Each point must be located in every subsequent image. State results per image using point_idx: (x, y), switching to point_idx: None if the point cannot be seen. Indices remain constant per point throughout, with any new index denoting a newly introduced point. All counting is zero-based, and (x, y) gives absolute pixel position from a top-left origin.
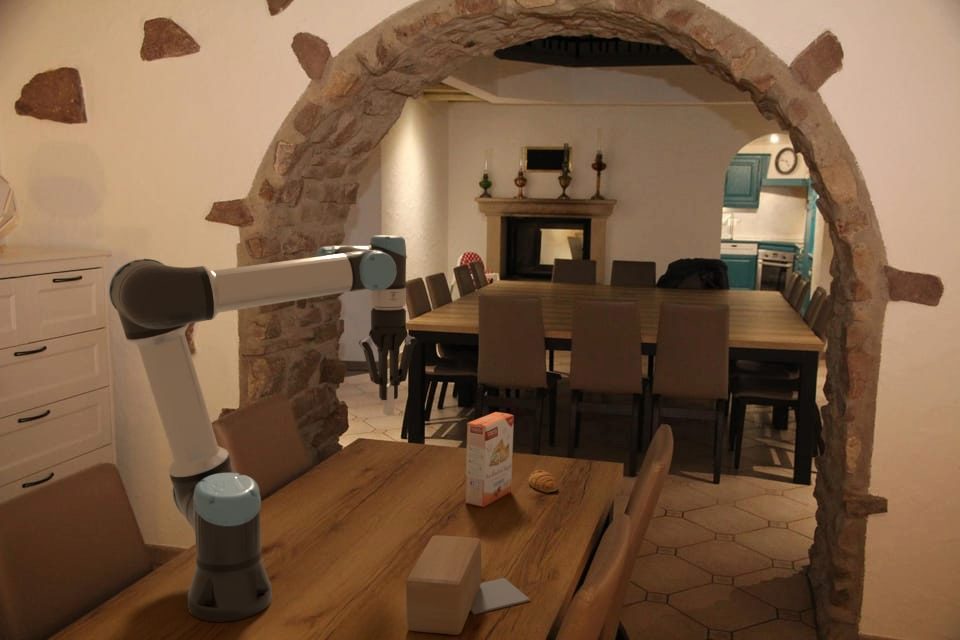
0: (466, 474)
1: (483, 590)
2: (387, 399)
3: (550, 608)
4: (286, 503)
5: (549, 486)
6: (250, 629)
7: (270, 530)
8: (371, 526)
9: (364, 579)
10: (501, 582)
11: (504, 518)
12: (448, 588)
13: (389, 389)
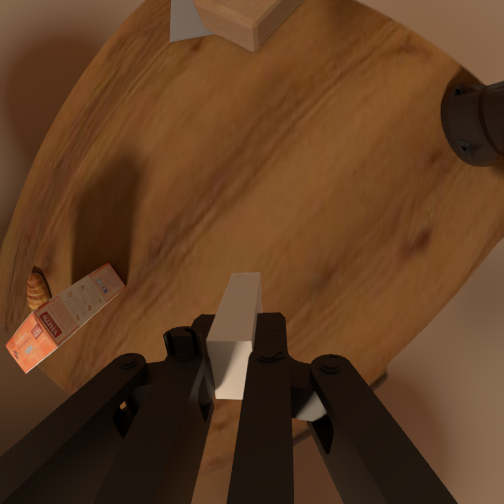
0: (105, 303)
1: None
2: (256, 303)
3: None
4: None
5: (34, 277)
6: (457, 65)
7: (399, 298)
8: (275, 262)
9: (337, 97)
10: (178, 32)
11: (95, 218)
12: None
13: (240, 329)
